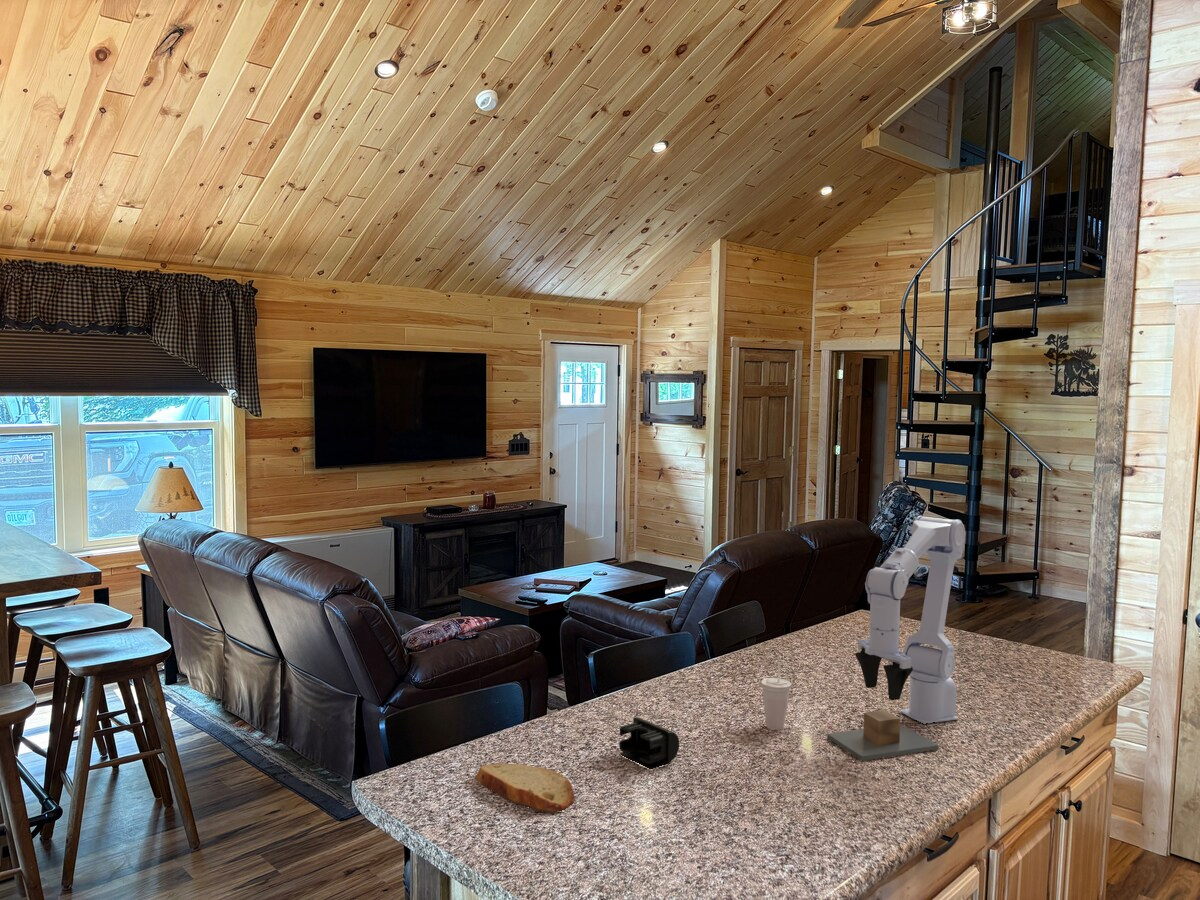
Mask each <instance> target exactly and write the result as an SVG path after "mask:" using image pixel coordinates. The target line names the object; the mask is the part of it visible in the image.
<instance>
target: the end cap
mask: <svg viewBox="0 0 1200 900" xmlns="http://www.w3.org/2000/svg"><path fill="white" fill-rule="evenodd" d="M627 734H630V736H629V738H626V739H625V738H624V739H622V740H619V750H620V751H621V752H620V756H621V755H622V756H624V757H626V758H628V759H630V760H632V761H635V762H637V763H639V764H641V765H643V766H645V767H647V768H649V769H653V768H656V767H659V766H662V765H665V764H668V763H669V762H670V763H671V762H672V761H674V759H675V758H676V756H677V754H678V752H679V749H680V738H679V736H678V735H677V734H676V732H674V731H671V730H669V729H668V728H664V727H662V726H660V725H657V724H655V723H653V722H650V721H648V720H646V719H643V718H641V717H638V716H637V717H633V722H632V723H629V724H625V725H622V726H620V727H619V735H620V736H623V735H627ZM670 763H669V764H670ZM669 764H668V765H669Z"/></svg>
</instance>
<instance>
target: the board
mask: <svg viewBox="0 0 1200 900" xmlns="http://www.w3.org/2000/svg"><path fill="white" fill-rule="evenodd" d="M863 732H864V728H859V729H852V730H845V731H836V732H830V733H827V735H826V738H828V739H827V740H828V741H830V740H831V741H830V742H832V741H833V742H834V743H833V742H832V743H833V744H835V743H836V744H837V745H836V744H835V745H836V746H837V747H839V746H840V747H839V748H841V749H842V748H843V750H844V751H846V752H847V753H849V754H850V755H852V756H853V757H855V758H856V759H858V760H859V761H860V762H866V761H867V760H868V761H873V760H872V759H875V760H879V758H881V759H884V758H883V757H888V758H891V757H890V756H895V757H899V756H898V755H901V756H906V755H905V754H908V755H912V754H911V753H915V754H917V753H916V752H921V753H924V752H923V751H928V752H931V751H930V750H934V751H938V750H939V744H938V743H935V742H934V741H932V740H930V739H928V738H927V737H925V736H923V735H921V734H920V733H917V732H915V731H914V730H912V729H910V728H909V727H906V726H905V725H903V724H901V723H900V739H899V743H894V744H887V745H880V746H878V745H877V744H875V743H873V742H872V741H870V740H868V739H867V738H865V737H863ZM937 749H938V750H937ZM896 755H897V756H896Z"/></svg>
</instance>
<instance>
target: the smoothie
mask: <svg viewBox="0 0 1200 900" xmlns="http://www.w3.org/2000/svg"><path fill="white" fill-rule="evenodd" d="M760 687H761V689H762V699H763V709H764V717H765V727H766V728H767V729H768V730H773V731H781V730H784V728H785V723H786V722H785V721H786V716H787V711H788V710H787V709H788V701H789V696H790V690H791V689H792V683H791V682H790V681H789V680H787V679H784V678H781V662H779V661H777V677H767V678H763V679H762V680H761V681H760Z"/></svg>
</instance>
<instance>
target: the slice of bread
mask: <svg viewBox="0 0 1200 900" xmlns="http://www.w3.org/2000/svg"><path fill="white" fill-rule="evenodd" d="M475 780H476V781H477V780H478V781H477V782H480V783H479V784H481V785H482V787H484V786H485V788H486V787H487V788H488V789H487V788H486V789H487V790H489V791H491V790H492V791H491V792H492V793H494V792H495V794H496V793H497V794H496V795H498V796H499V795H500V796H499V797H501V798H503V799H505V800H507V801H508V800H509V801H508V802H511V801H512V802H511V803H514V804H515V805H517V804H519V805H518V806H522V805H523V806H522V807H524V806H525V807H524V808H526V807H529V808H528V809H532V810H534V809H535V810H534V811H537V810H538V812H540V811H543V812H542V813H546V812H557V811H562V810H565V809H566V808H568V807H569V806H570V805H572V804H573V803H574V801H575V799H576V797H575V792H574V788H573V787H572V784H571V782H570V780H569V779H568V778H566V777H565V776H564V775H562V774H561V773H559V772H557V771H555V770H551V769H549V768H545V767H539V766H538V767H536V766H532V765H526V764H521V763H520V764H519V763H506V762H503V763H498V762H497V763H489V764H485V765H482V766H480V767H479V768H478V771H477V774H476V776H475ZM575 802H576V801H575Z"/></svg>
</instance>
